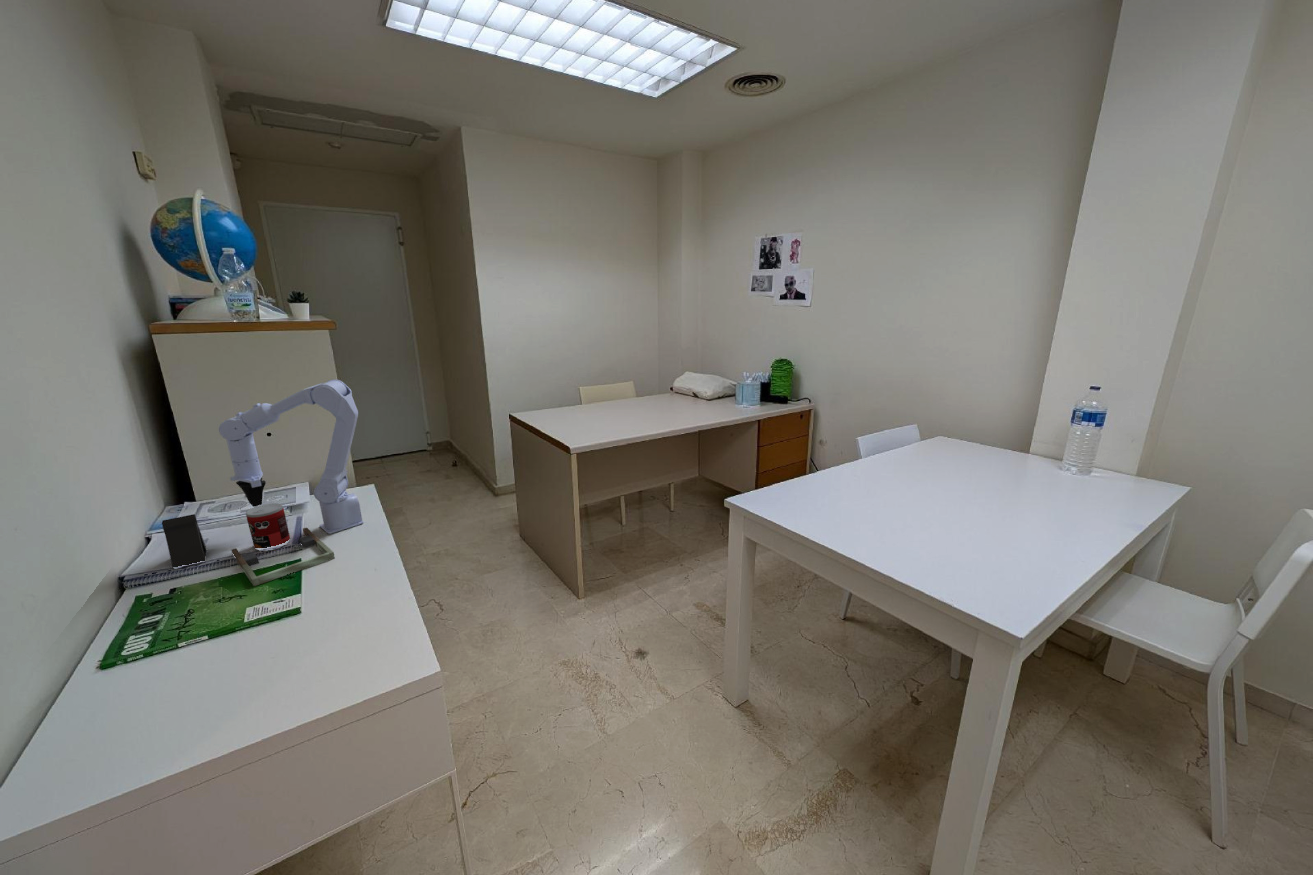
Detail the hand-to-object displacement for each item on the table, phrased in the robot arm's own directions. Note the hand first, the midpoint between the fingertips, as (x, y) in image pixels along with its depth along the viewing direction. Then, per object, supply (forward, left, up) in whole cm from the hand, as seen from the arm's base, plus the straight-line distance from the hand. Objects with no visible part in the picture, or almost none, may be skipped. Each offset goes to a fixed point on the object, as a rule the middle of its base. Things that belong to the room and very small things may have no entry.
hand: (256, 504), depth 137 cm
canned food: (0, +10, -10) cm, 14 cm away
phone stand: (+16, +3, -10) cm, 19 cm away
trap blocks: (0, +17, -9) cm, 19 cm away
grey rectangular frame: (0, +20, -9) cm, 22 cm away
